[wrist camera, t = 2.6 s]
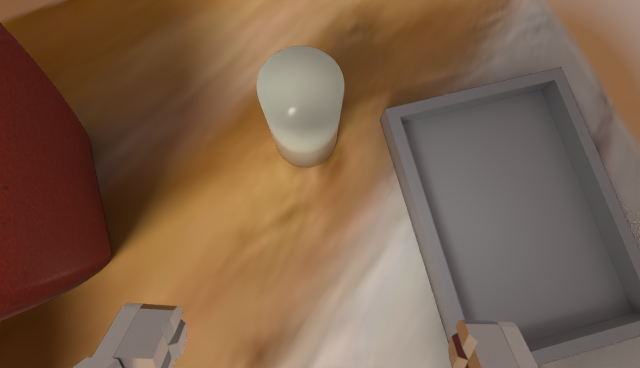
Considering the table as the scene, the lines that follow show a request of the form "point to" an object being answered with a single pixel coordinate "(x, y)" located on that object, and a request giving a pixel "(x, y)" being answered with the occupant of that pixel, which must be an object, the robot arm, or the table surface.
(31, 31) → the table surface
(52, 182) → the plant pot
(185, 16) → the table surface
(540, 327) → the grey tray
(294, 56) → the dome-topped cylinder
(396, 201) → the table surface
